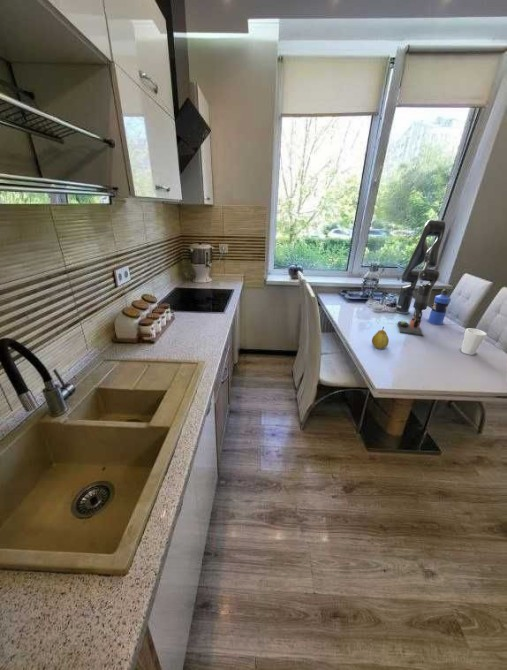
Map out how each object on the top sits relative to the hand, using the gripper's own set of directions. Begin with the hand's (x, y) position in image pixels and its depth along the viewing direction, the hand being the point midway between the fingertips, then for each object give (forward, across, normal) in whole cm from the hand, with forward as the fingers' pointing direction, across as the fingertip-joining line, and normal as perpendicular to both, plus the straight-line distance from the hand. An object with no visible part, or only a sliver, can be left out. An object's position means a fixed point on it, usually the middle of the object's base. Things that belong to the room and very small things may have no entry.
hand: (414, 325), depth 182 cm
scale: (+5, +2, +2) cm, 5 cm away
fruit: (+5, -34, +22) cm, 41 cm away
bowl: (+1, 0, 0) cm, 1 cm away
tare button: (+2, +7, +6) cm, 10 cm away
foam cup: (+5, -20, -26) cm, 33 cm away
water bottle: (+5, +26, -18) cm, 32 cm away
